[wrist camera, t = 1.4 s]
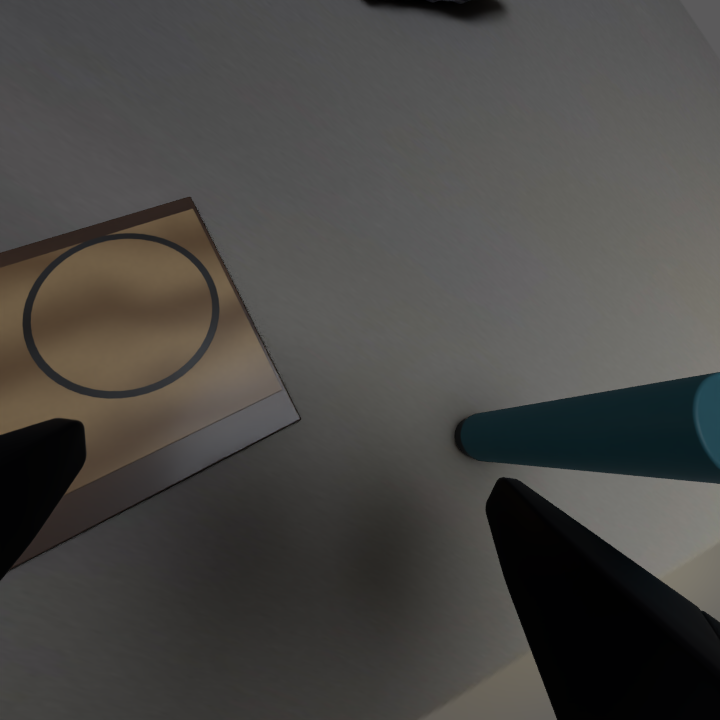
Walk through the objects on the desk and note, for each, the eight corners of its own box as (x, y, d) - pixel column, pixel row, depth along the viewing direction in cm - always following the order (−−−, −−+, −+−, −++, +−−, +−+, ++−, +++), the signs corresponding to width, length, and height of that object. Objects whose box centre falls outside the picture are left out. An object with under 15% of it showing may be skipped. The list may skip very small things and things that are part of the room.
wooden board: (300, 419, 20) (300, 418, 19) (-121, 637, 14) (-138, 645, 14) (192, 200, 22) (189, 194, 21) (-209, 321, 17) (-226, 316, 16)
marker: (500, 446, 21) (811, 450, 8) (466, 468, 21) (748, 511, 8) (477, 407, 22) (740, 353, 9) (443, 428, 21) (674, 402, 8)
